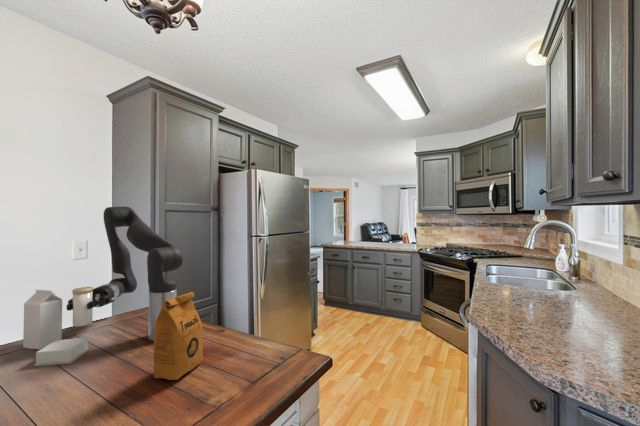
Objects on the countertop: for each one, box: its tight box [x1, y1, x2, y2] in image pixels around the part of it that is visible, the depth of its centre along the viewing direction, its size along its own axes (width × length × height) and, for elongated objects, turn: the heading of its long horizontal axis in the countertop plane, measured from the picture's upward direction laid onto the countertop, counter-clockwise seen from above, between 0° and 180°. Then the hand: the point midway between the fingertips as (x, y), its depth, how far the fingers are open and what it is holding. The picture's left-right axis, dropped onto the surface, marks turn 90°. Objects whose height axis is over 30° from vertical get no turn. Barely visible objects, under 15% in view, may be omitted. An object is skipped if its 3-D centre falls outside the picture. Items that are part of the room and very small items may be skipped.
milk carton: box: [22, 289, 63, 350], centre depth 102 cm, size 7×7×19 cm
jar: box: [72, 286, 94, 327], centre depth 103 cm, size 6×6×12 cm
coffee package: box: [153, 291, 204, 381], centre depth 85 cm, size 10×12×22 cm
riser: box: [33, 337, 90, 367], centre depth 93 cm, size 10×10×4 cm
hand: (78, 306), depth 100 cm, fingers closed on jar, 5 cm apart
